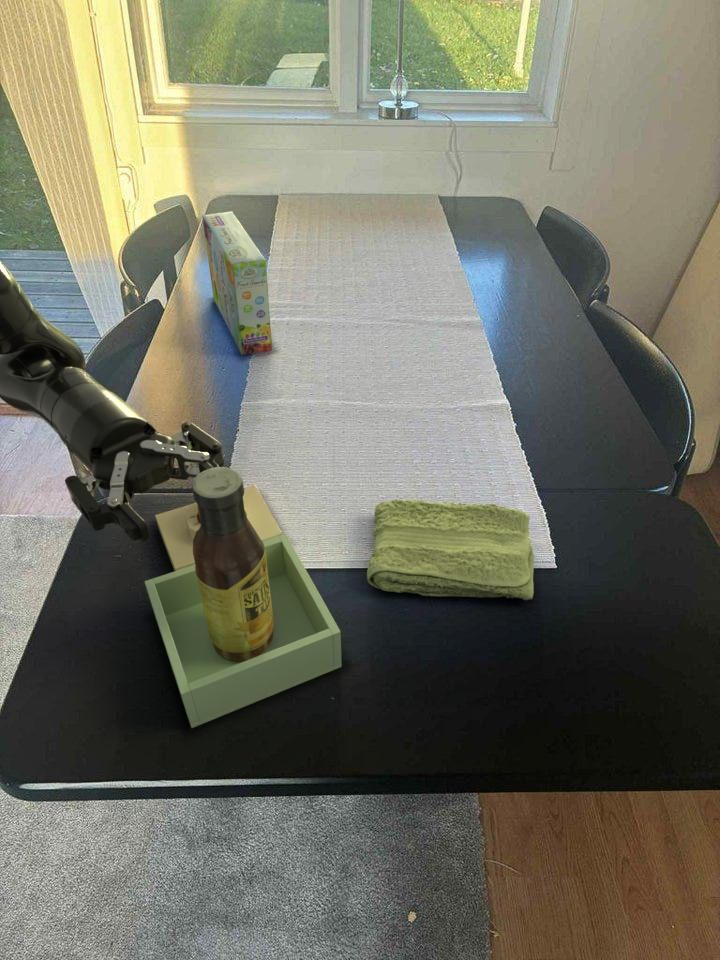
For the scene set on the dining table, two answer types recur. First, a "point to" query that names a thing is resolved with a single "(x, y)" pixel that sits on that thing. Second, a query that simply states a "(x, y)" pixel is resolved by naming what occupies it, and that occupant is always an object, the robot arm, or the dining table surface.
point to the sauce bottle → (231, 568)
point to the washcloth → (451, 550)
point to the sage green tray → (285, 663)
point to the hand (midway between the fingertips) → (187, 511)
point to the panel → (185, 522)
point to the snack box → (238, 282)
